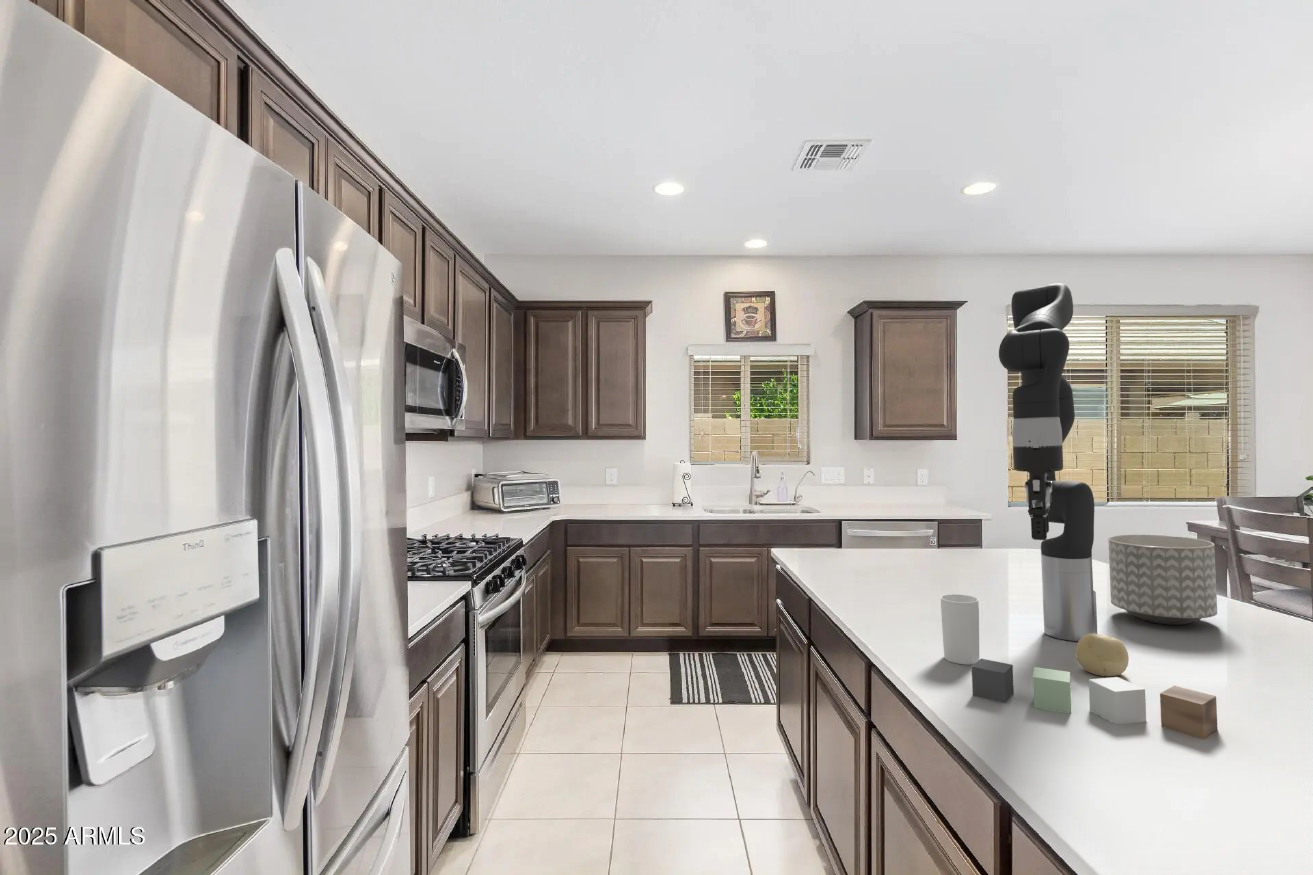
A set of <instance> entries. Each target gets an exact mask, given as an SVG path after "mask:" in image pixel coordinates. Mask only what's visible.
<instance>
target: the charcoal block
mask: <svg viewBox="0 0 1313 875" xmlns="http://www.w3.org/2000/svg"><path fill="white" fill-rule="evenodd" d="M1013 670H1014V665H1013V664H1011V663H1005V662H1001V661H997V660H996V661H995V660H991V659H985V658H979V661H977V662H976V663H975V664H972V666H971V683H972V684H971V685H972V690H971V691H972V696H973V697H976V698H980V699H986V700H990V701H992V702H993V701H994V702H999V703H1001V704H1003V703H1004V704H1006V703H1007V702H1008V701H1009V699H1010V700H1011V697H1013V695H1014V694H1015V691H1014V690H1015V689H1014V688H1015V686H1014V671H1013Z"/></svg>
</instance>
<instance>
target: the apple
mask: <svg viewBox="0 0 1313 875" xmlns="http://www.w3.org/2000/svg"><path fill="white" fill-rule="evenodd" d="M1075 657H1076V661H1077V662H1078V664H1079V666H1080V667H1081V668H1082V669H1083V670H1085V671H1086V672H1088V673H1091V674H1092V675H1096V676H1099V675H1100V676H1099V677H1107V678H1112V677H1118V676H1120V675H1122V674H1123V673H1124V672H1125V671H1126V670H1127V668H1128V665H1129V652H1128V649H1127V648H1126V646H1125V644H1124V643H1123V642H1122V641H1121V640H1120V639H1118V638H1116V637H1112V636H1110V635H1104V634H1098V633H1097V634H1087V635H1085V636H1083V637H1082V638H1081V639H1080V640H1079V641H1077V643H1076V647H1075Z"/></svg>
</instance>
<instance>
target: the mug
mask: <svg viewBox="0 0 1313 875" xmlns="http://www.w3.org/2000/svg"><path fill="white" fill-rule="evenodd" d="M979 606H980V605H979V598H977V597H976V596H972V595H968V594H959V593H958V594H957V593H956V594H955V593H952V594H949V593H947V594H943V595H940V610H941V613H940V614H941V628H942V643H943V644H942V645H943V654H944V655H943V656H944V659H945V660H946V661H948V662H949V663H954V664H957V665H968V666H969V665H974V664H975V663H976V662H977V661H979V660H980V608H979Z"/></svg>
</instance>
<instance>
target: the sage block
mask: <svg viewBox="0 0 1313 875" xmlns="http://www.w3.org/2000/svg"><path fill="white" fill-rule="evenodd" d="M1071 689H1072V688H1071V672H1070V671H1065V670H1058V669H1057V670H1056V669H1050V668H1043V667H1036V666H1034V667H1033V672H1032V696H1033V708H1036V709H1040V710H1046V711H1052V712H1058V713H1064V714H1069V715H1071V714H1072V690H1071Z"/></svg>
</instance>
